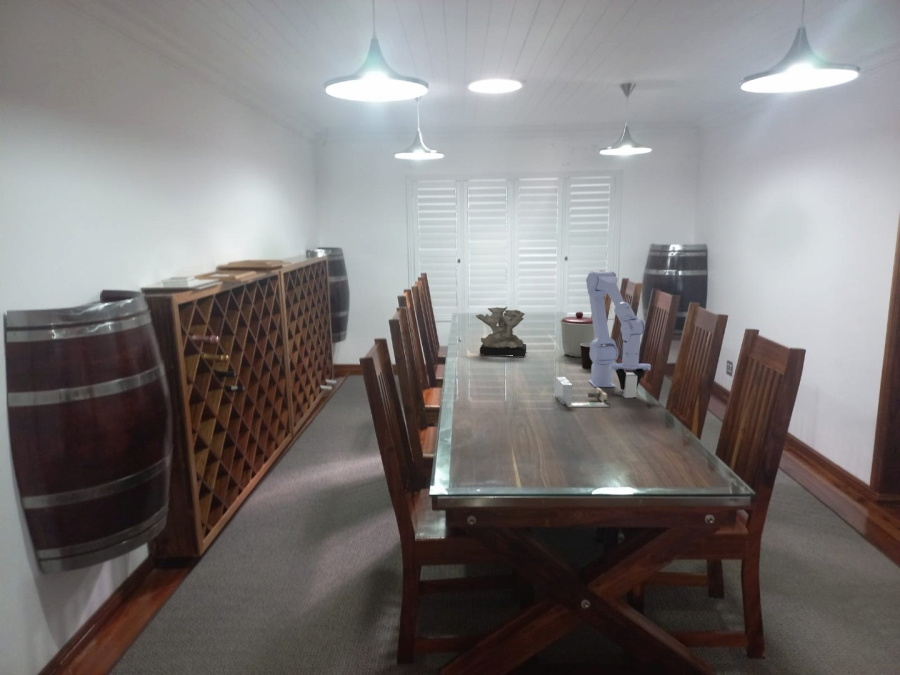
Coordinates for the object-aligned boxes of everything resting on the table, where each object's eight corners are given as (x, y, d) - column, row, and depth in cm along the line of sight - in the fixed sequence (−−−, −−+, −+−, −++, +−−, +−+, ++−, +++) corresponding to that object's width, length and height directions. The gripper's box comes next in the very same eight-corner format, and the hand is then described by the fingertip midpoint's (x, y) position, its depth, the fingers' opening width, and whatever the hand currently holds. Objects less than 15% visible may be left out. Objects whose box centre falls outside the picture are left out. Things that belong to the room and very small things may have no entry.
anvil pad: (584, 395, 213) (585, 387, 213) (598, 395, 214) (599, 387, 213) (595, 406, 200) (596, 398, 200) (610, 406, 200) (611, 398, 200)
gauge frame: (555, 395, 214) (555, 376, 213) (596, 395, 215) (597, 376, 213) (564, 407, 200) (565, 387, 199) (608, 406, 201) (610, 386, 200)
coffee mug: (585, 370, 253) (586, 347, 252) (575, 365, 262) (576, 343, 260) (609, 368, 256) (610, 346, 255) (599, 364, 265) (600, 342, 263)
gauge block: (612, 393, 217) (613, 372, 216) (631, 393, 217) (632, 372, 216) (616, 397, 212) (618, 376, 211) (635, 397, 212) (637, 375, 211)
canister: (569, 349, 296) (571, 308, 292) (603, 354, 285) (605, 311, 281) (551, 355, 282) (553, 311, 278) (586, 360, 271) (588, 315, 267)
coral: (472, 354, 282) (472, 310, 278) (479, 346, 302) (479, 305, 298) (524, 357, 277) (526, 312, 273) (528, 349, 297) (529, 306, 293)
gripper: (614, 355, 208) (612, 392, 210) (655, 354, 208) (652, 392, 211) (608, 350, 214) (606, 387, 217) (647, 350, 215) (644, 386, 218)
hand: (628, 389), depth 214 cm, fingers closed on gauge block, 4 cm apart
